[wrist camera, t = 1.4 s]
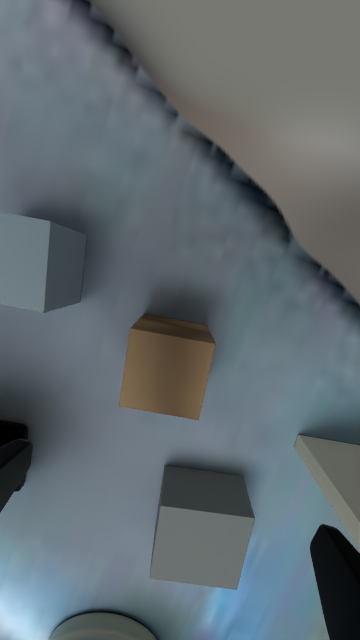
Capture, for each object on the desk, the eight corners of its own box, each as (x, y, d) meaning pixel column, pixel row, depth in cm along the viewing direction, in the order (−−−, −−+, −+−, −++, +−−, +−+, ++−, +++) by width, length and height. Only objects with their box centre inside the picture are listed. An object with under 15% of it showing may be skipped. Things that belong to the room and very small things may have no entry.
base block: (155, 525, 23) (149, 578, 19) (164, 463, 22) (160, 505, 18) (227, 535, 23) (236, 589, 19) (241, 473, 22) (254, 518, 18)
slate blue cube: (15, 290, 19) (-45, 296, 14) (19, 222, 18) (-45, 203, 13) (80, 301, 19) (43, 312, 14) (87, 235, 18) (50, 221, 13)
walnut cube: (135, 372, 20) (118, 406, 15) (144, 313, 19) (130, 328, 14) (194, 383, 20) (198, 420, 15) (207, 325, 19) (215, 343, 14)
